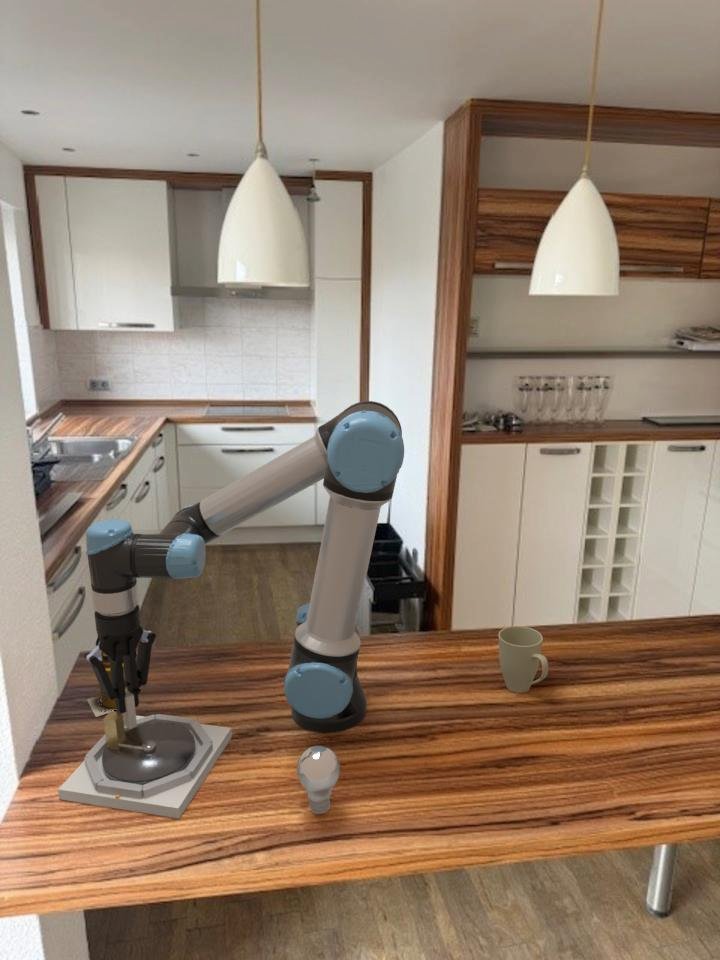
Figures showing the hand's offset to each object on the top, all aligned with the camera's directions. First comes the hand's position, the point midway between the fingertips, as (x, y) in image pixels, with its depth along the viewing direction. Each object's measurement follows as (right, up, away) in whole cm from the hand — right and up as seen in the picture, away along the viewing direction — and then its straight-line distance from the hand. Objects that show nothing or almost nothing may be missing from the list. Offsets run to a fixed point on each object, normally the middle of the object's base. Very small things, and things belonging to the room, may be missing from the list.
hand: (129, 724), depth 132 cm
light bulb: (+36, -10, -15) cm, 40 cm away
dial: (+5, -4, -4) cm, 7 cm away
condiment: (-9, -1, +17) cm, 19 cm away
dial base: (+5, -7, -3) cm, 9 cm away
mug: (+77, +1, +20) cm, 79 cm away
